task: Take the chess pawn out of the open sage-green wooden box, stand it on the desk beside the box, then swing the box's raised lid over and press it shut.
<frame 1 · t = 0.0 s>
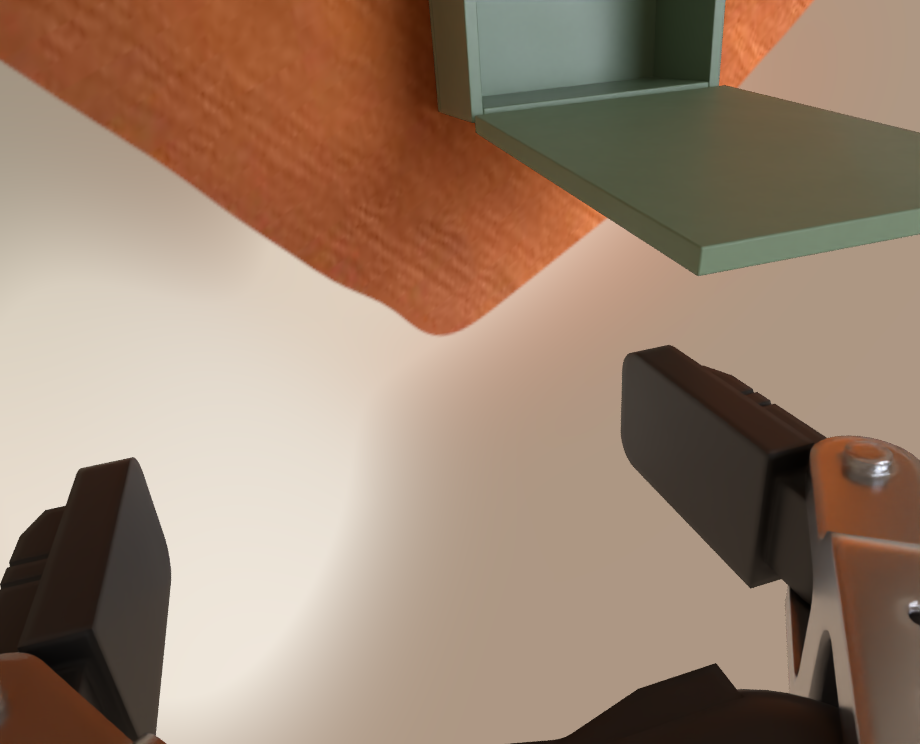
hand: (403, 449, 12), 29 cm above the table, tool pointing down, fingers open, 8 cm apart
box lid: (715, 149, 27), point 15 cm above the table, hinge at 95.0°
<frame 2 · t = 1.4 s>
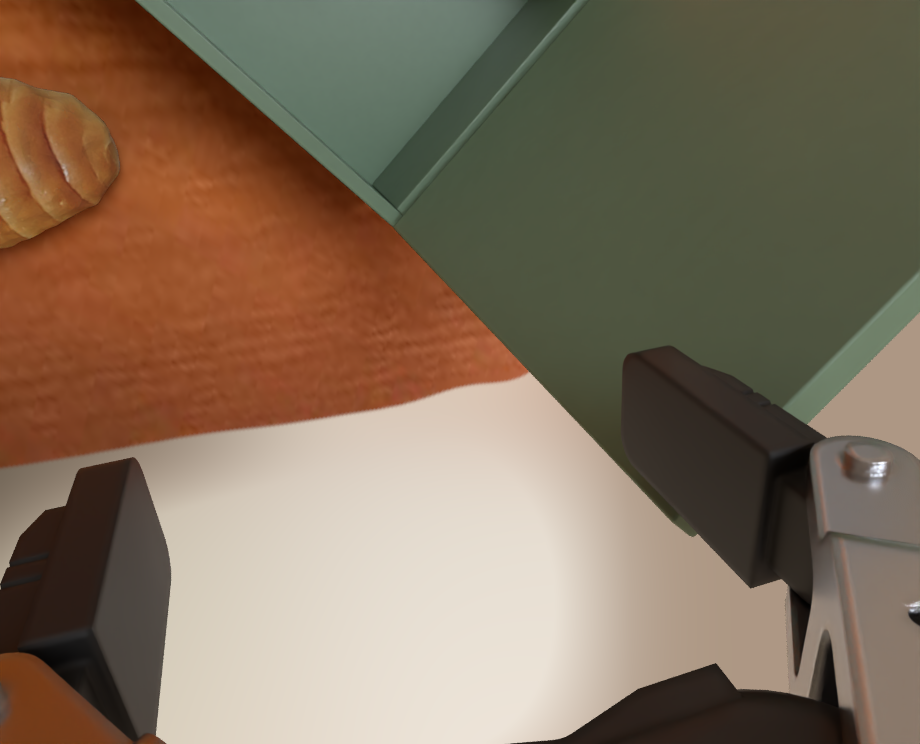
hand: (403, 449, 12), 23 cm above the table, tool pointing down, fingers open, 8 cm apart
box lid: (653, 144, 19), point 15 cm above the table, hinge at 95.0°, touching gripper
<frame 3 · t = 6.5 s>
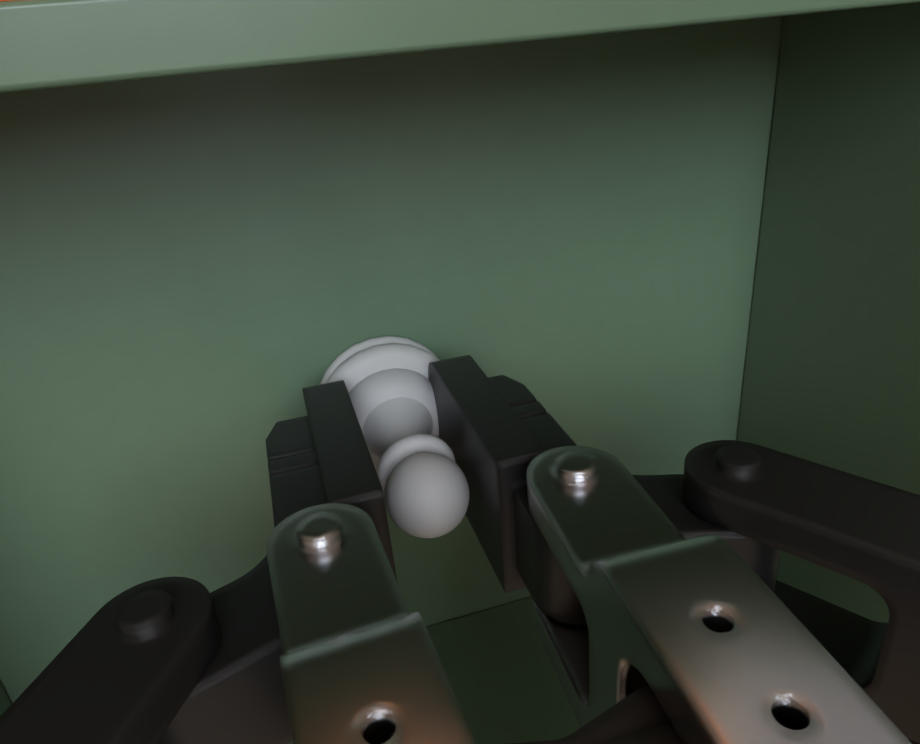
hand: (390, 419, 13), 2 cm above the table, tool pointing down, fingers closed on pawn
chess box: (377, 382, 14), on the table
pawn: (381, 391, 14), resting on chess box, touching gripper
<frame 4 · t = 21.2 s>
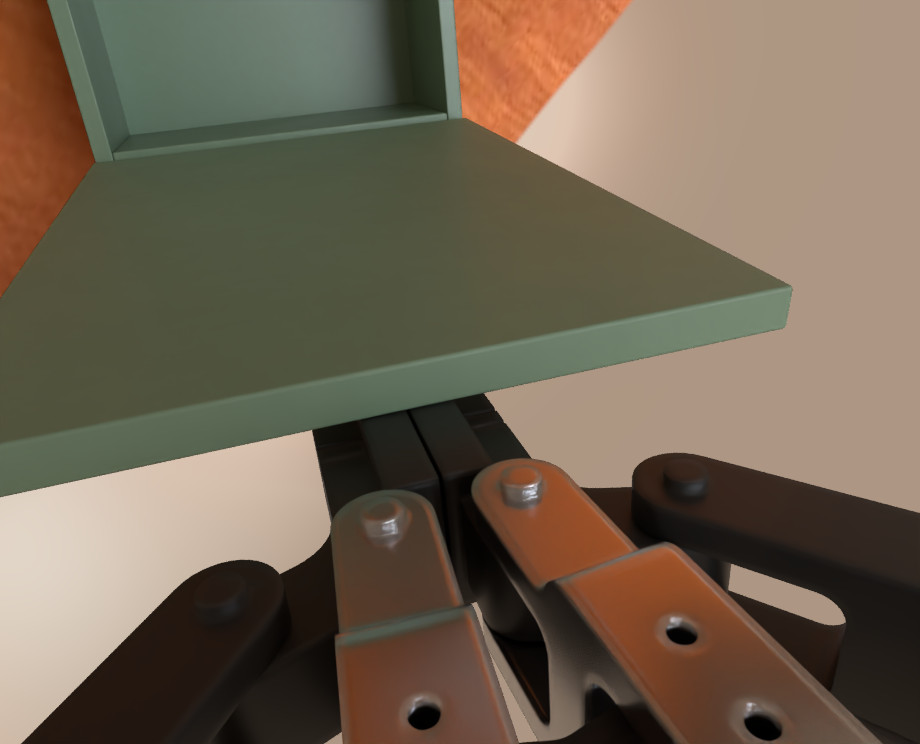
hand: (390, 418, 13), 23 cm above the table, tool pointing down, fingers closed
box lid: (325, 218, 18), point 15 cm above the table, hinge at 93.4°
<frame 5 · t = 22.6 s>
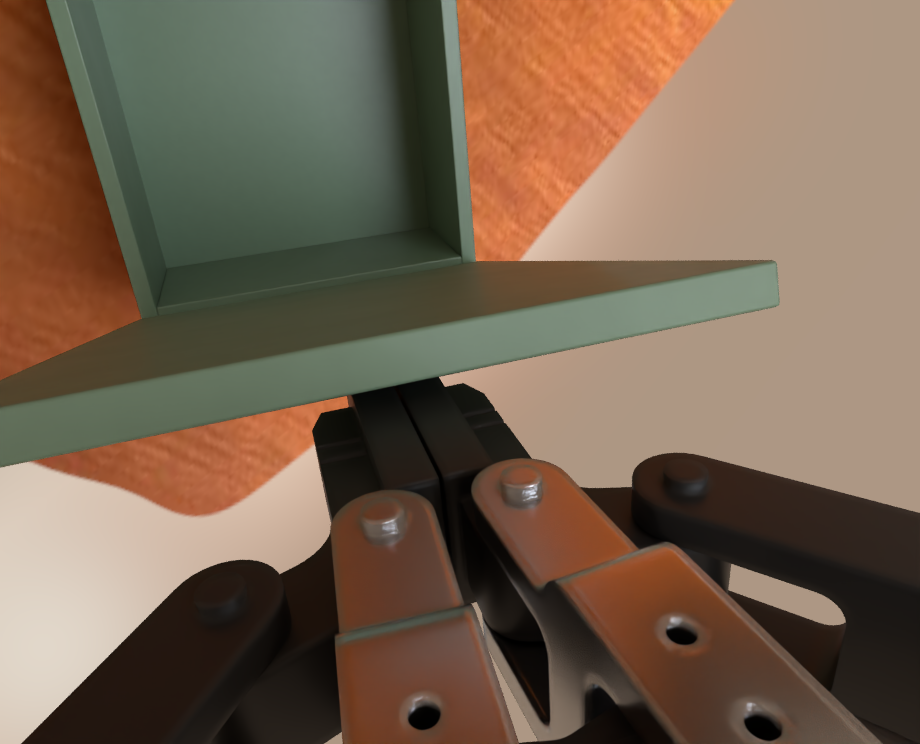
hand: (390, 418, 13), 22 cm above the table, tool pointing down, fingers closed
chess box: (267, 56, 29), on the table
box lid: (342, 315, 19), point 15 cm above the table, hinge at 74.4°, touching gripper
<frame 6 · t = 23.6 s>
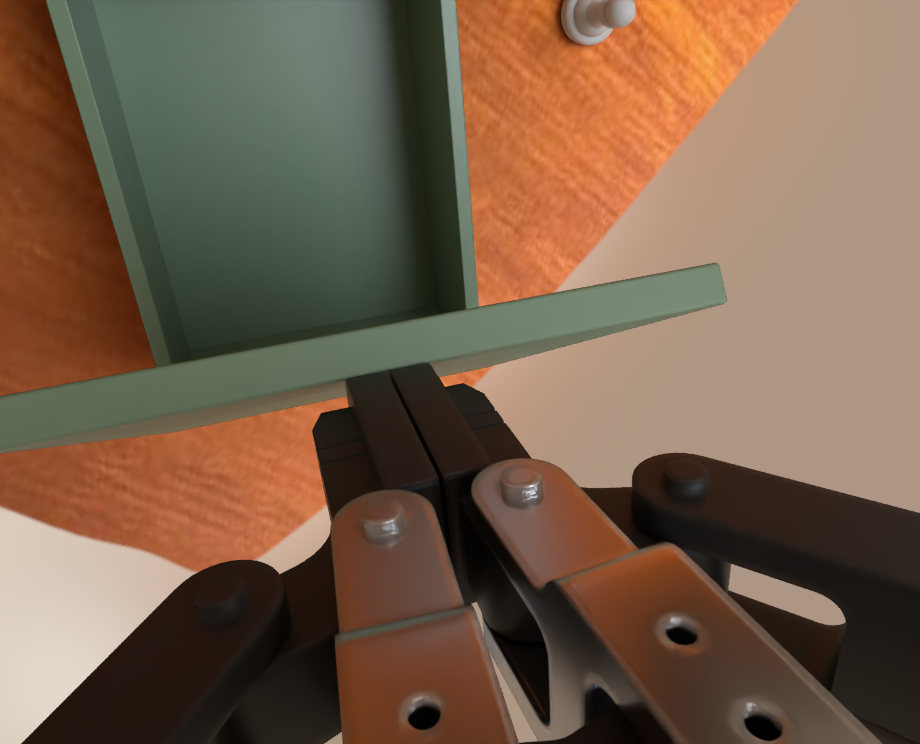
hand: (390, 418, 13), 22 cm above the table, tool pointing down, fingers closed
chess box: (285, 155, 31), on the table
pawn: (583, 14, 33), on the table
box lid: (350, 377, 21), point 14 cm above the table, hinge at 62.1°, touching gripper
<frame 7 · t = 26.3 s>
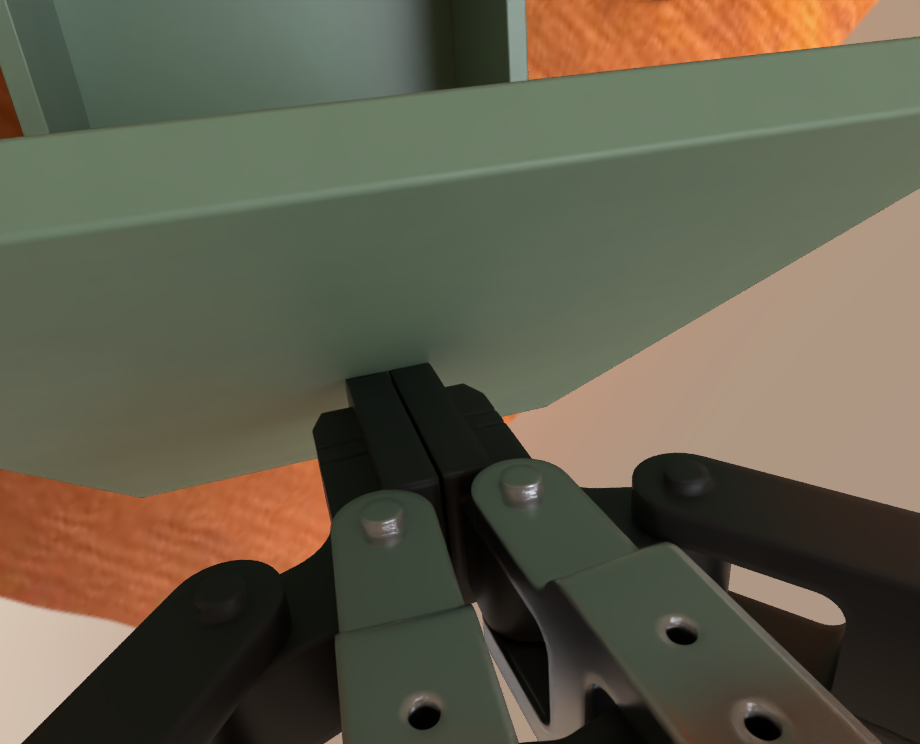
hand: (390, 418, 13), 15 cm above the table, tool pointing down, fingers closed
chess box: (288, 136, 25), on the table
box lid: (371, 377, 14), point 14 cm above the table, hinge at 52.3°
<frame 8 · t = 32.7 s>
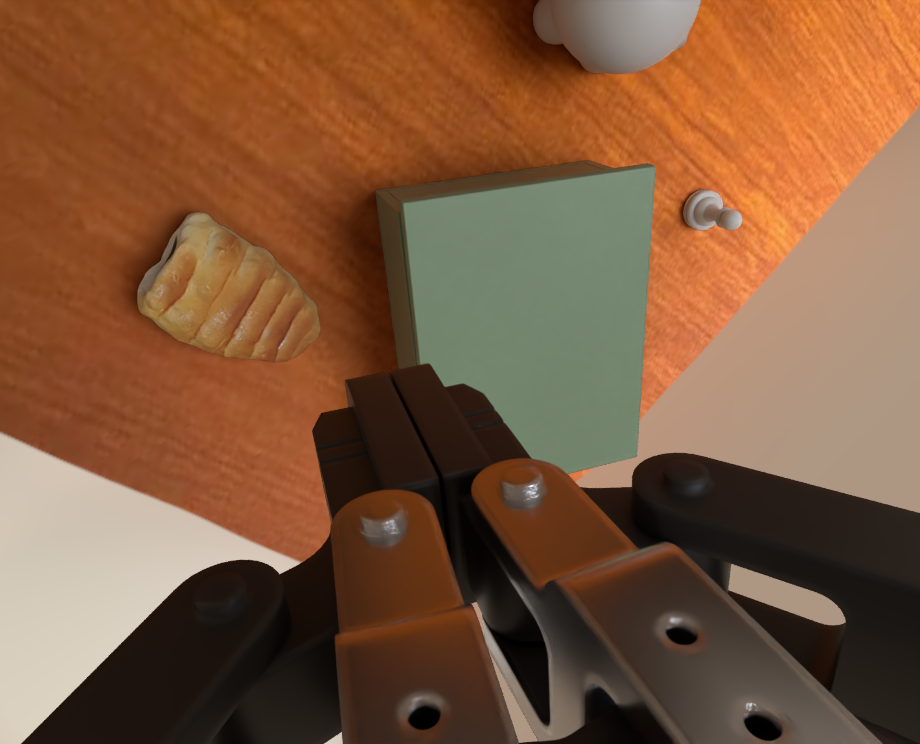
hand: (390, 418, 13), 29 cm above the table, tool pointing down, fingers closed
chess box: (494, 311, 45), on the table
pastry: (228, 284, 40), on the table
pawn: (697, 208, 46), on the table
box lid: (534, 346, 39), point 7 cm above the table, hinge at 2.3°
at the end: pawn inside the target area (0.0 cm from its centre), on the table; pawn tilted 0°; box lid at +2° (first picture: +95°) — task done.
